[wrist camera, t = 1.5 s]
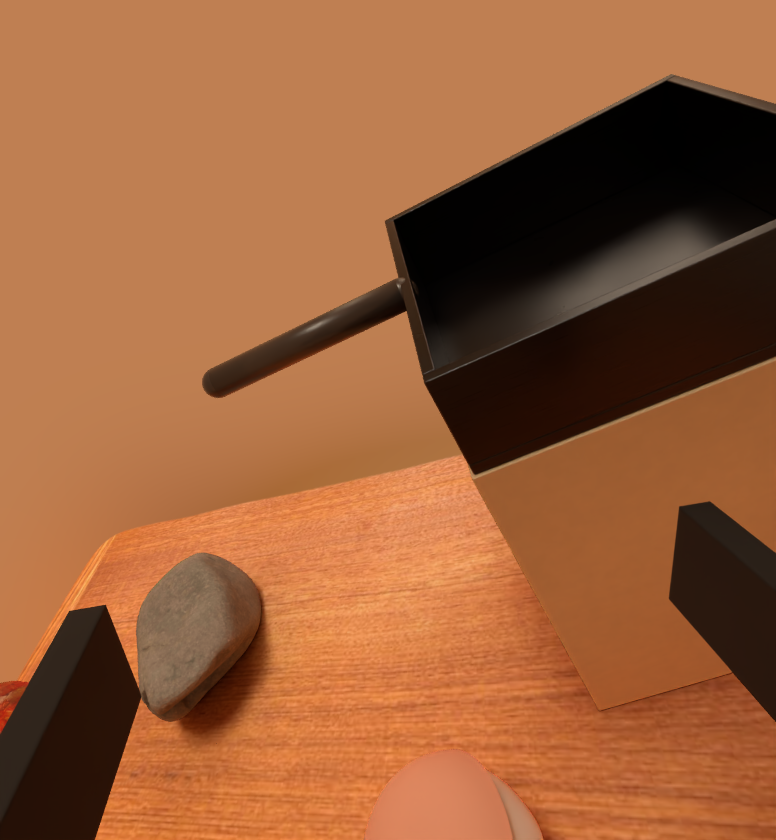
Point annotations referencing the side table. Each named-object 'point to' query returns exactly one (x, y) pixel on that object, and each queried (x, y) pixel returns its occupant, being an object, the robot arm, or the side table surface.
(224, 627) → the stone
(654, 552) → the stand
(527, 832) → the toy ball
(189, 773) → the side table surface
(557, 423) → the pan
